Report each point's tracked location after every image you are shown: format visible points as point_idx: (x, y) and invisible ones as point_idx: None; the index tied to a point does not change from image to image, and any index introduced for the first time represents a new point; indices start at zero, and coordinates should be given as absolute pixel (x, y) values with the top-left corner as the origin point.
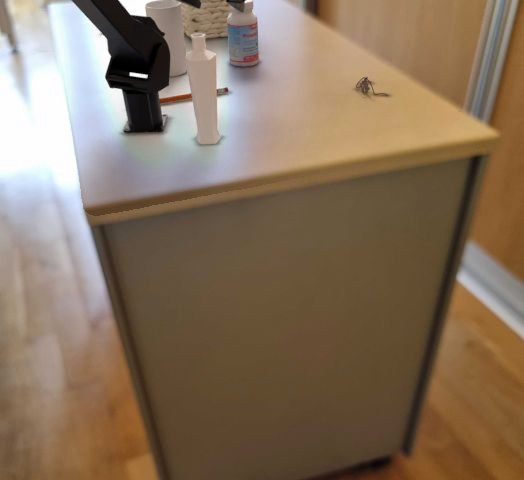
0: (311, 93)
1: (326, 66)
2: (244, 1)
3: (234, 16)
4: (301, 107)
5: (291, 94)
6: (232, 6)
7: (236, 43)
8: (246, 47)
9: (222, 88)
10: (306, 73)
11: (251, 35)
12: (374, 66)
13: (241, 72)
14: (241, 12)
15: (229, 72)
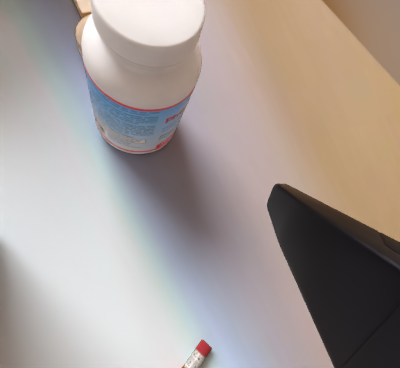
0: None
1: (312, 101)
2: (316, 201)
3: (136, 80)
4: None
5: None
6: (319, 331)
7: (140, 134)
8: (168, 131)
9: (200, 361)
10: (299, 151)
11: (186, 104)
12: (379, 83)
13: (164, 188)
14: (269, 209)
15: (133, 198)
